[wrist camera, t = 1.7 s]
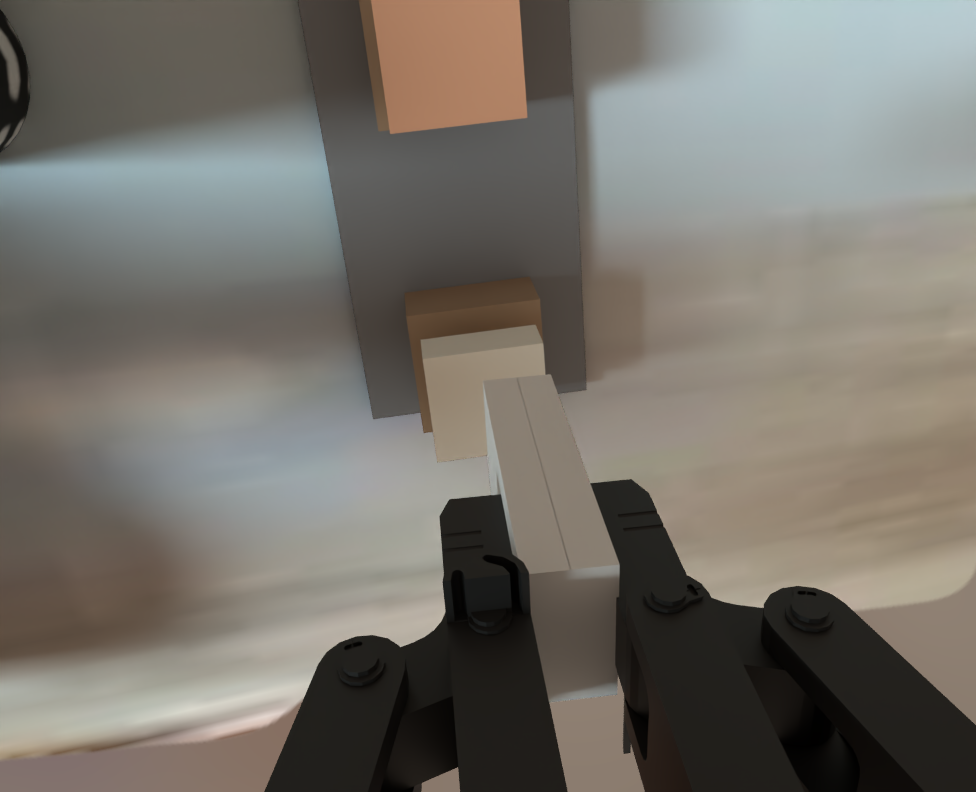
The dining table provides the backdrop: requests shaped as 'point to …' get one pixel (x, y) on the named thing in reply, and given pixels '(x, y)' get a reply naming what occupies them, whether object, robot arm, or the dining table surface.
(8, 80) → the spotted tube
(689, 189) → the dining table surface
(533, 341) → the button cream
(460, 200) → the button board
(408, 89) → the orange cube
